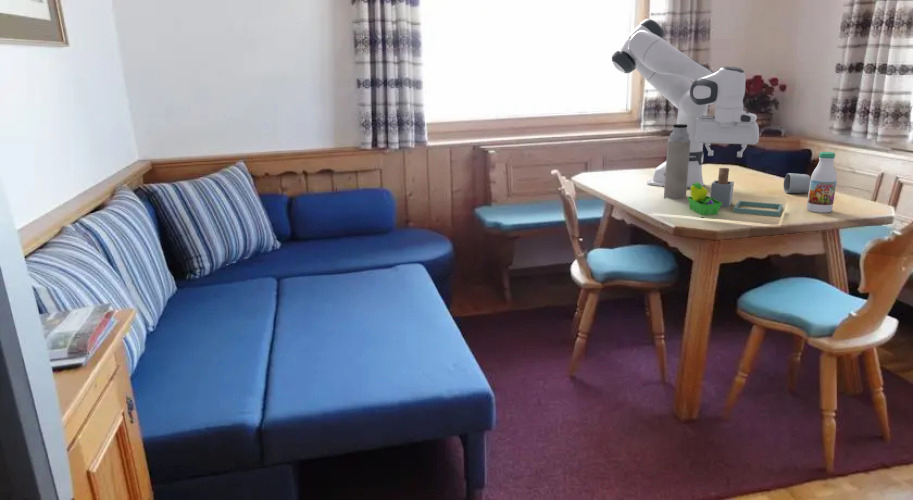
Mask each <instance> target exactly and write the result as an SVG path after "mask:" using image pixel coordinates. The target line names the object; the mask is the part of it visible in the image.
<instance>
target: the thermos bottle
mask: <svg viewBox="0 0 913 500" xmlns="http://www.w3.org/2000/svg"><path fill="white" fill-rule="evenodd" d="M672 126H673V128H672V132H671V133H670V134H669V138H668V139H667V145H666V147H667V150H666V160H665V161H666V173H665V186H663V187H664V190H663V199H664V200H665V199H674V200H675V199H676V200H678V199H679V200H681V199H686V198H687V189H688V188H687V178H688V166H689V154H690V141H691V140H689V134H688V133H687V125H685V124H677V123H676V124H673V125H672Z"/></svg>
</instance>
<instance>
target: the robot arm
mask: <svg viewBox="0 0 913 500" xmlns="http://www.w3.org/2000/svg"><path fill="white" fill-rule="evenodd" d="M611 62H612V65H613V66H614V67H615V69H616V70H618V71H619V72H621V73H623V74H631V73H632V72H633V71H635V70H636V71H637V72H638V73H639V74H640V75H641V76H642V77H643V79H644V80H645V81H647V83H649V84H650V86H652V87H653V88H654V89H655V90H656V91H657V92H659V94H661V95H662V96H663V97H664V98H665V99H666V100H667V101H668V102H670V104H671V105H673V107H675V108H676V109H677V119H676V124H685V125H687V133H688V134H689V140H691V141H690V154H689V166H688V178H687V189H688V188H691V186H692V185H693V183H694V184H695V183H700V184H701V186H703V187H704V178H703V162H704V154H705V153H704V150H703V148H704V145H705V148H706V150H707V152H708V153H707V156H708V157H713V156H714V150H712V149H711V147H710V146H712V145H711V144H727V145H731V144H732V145H741V146H740V147H741V150H739V151H737V152H736V158H742V157H743V152H744V151H745V149H746V148H747V146H748V145H753V146H754V145H757V144H758V143H759V140H760V130H759V124H758V123H757V119H758V116H757V115H756V113H751V112H749V111H745V110H744V101H743V100H744V98H745V95H746V73H745V71H744V69H742V68H741V67H737V66H722V67H720V68H719V69H718V70H717V71H713V70H711V69H709V68H708V67H706V66H705V65H703V64H701V63H700V62H699V61H696V60H694V59H693V58H691V57H689V55H687V54H685V53H683V52H682V51H680V50H679V49H678V48H676V47H675V46H673V45H672V44H671V43H669V42H668V41H666V40H665V39H664V29H663V28H662V26H661V25H660V23H659V22H657V21H656V20H654V19H652V18H645V19H644V20H642V21H641V22H640V23H639V24H638V25H637V26H636V27H635V28H634V29H633V30H631V32H630V33H629V34H628V35H627V36H626V37H625V39H624V40H623V41H622V43H621V44H620V45H619V47H617V50H614V52H613V54H612V56H611ZM712 105H714V106H715V109H714V115H708V109H709V106H712ZM665 173H666V160H665V161H664V162H662V163H660V165H657V166H656V168H655V170H654V171H653V174H652V177H651V178H648V179H647V182H646V183H647V185H651V186H659V187H665Z"/></svg>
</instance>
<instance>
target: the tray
mask: <svg viewBox="0 0 913 500" xmlns="http://www.w3.org/2000/svg"><path fill="white" fill-rule="evenodd" d="M741 206H742V207H741ZM783 206H784V204H783V203H772V202H759V201H746V200H738V201H737V202H736V204H735V205H734V206H733V211H732V213H734V214H735V213H737V214H748V215H758V216H769V217H780V215H781V213H782V209H783ZM745 207H746V208H745ZM747 207H754V208H755V209H754V208H747ZM757 208H766V209H767V210H766V209H757ZM769 209H775V210H769ZM776 209H777V210H776Z"/></svg>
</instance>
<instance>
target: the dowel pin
mask: <svg viewBox="0 0 913 500" xmlns="http://www.w3.org/2000/svg"><path fill="white" fill-rule="evenodd" d="M729 172H730V168H728V167H720V168H719V169H718V177H717V181H718V184H728V181H729V174H730V173H729Z"/></svg>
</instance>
